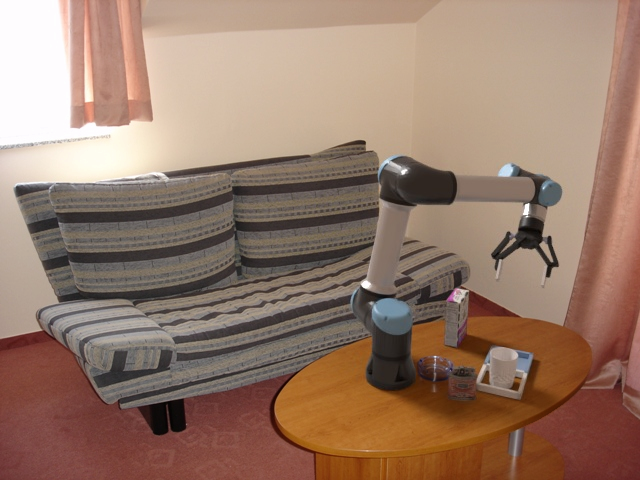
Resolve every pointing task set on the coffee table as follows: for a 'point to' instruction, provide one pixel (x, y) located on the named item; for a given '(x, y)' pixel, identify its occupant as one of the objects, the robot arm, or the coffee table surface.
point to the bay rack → (521, 372)
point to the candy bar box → (456, 317)
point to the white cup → (502, 367)
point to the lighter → (462, 383)
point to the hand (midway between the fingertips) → (519, 283)
